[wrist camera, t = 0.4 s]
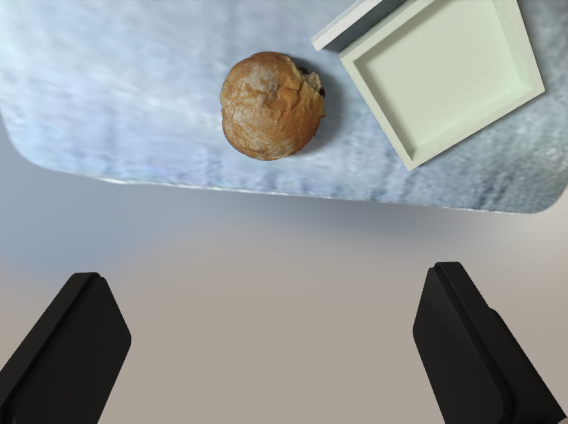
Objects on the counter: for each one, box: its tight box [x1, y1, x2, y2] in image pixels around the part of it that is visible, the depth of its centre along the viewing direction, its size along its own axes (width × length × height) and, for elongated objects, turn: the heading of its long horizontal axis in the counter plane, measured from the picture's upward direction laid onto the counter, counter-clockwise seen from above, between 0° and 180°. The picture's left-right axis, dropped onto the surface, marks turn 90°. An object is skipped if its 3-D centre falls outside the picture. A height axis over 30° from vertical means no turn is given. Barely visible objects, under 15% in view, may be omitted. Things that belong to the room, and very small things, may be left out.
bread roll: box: [220, 52, 325, 161], centre depth 32 cm, size 10×10×8 cm
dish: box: [337, 0, 545, 171], centre depth 31 cm, size 14×14×2 cm
